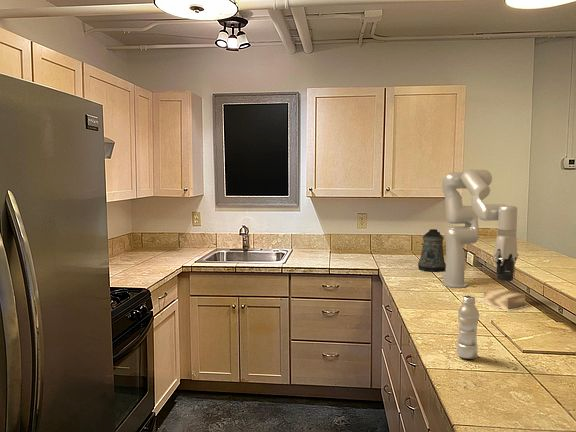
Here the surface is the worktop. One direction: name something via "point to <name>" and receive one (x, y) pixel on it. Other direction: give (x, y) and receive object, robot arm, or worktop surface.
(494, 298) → the oak plinth
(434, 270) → the dark grey bell
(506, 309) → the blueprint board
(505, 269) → the supplement bottle
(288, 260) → the worktop surface
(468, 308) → the plastic bottle
